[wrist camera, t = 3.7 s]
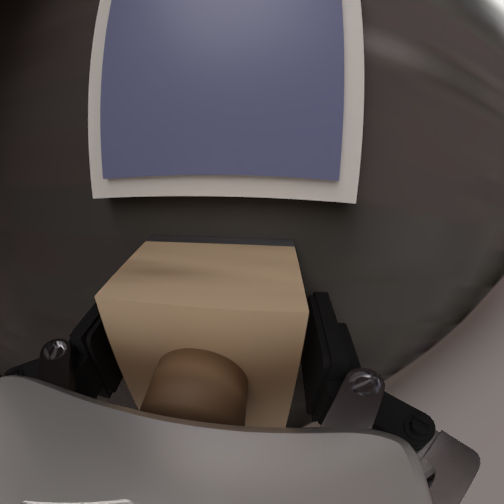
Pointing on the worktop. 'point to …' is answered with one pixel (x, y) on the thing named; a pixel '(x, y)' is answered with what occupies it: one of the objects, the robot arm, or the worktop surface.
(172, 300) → the stamp
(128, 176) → the ink pad
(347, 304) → the worktop surface
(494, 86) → the worktop surface
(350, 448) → the robot arm
